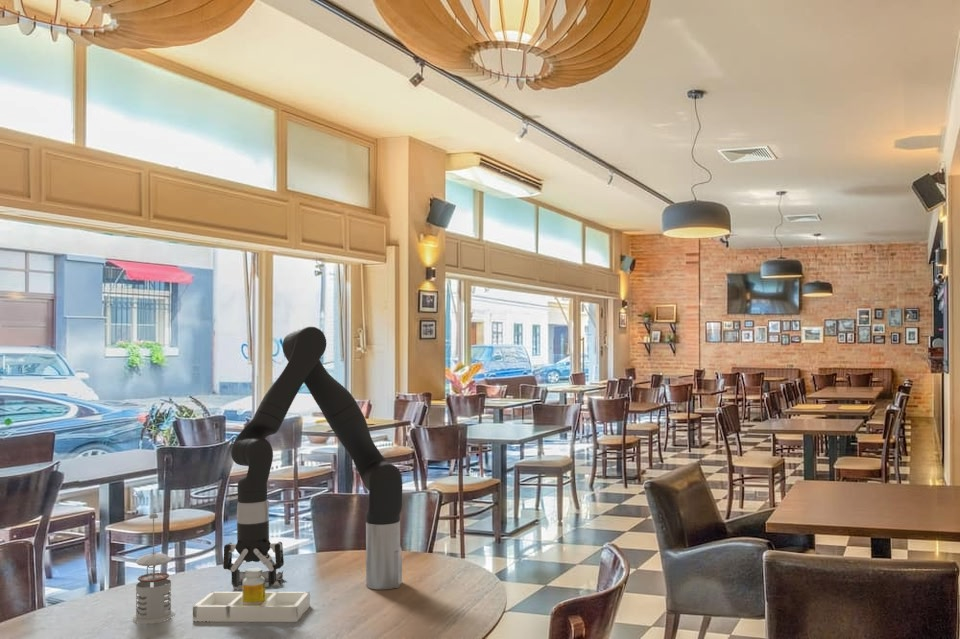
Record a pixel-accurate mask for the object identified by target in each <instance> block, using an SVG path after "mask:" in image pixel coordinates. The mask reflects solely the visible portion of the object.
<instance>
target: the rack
mask: <svg viewBox="0 0 960 639" xmlns="http://www.w3.org/2000/svg"><path fill="white" fill-rule="evenodd" d="M310 593H311V592H310V591H265V601H264V602H263V603H262V604H261V605H260V606H247V605H242V591H211V592H209V593H208V594H207V595H206V596H204V597H203V598H202V599H201V600H199V601H198V602H197V603H195V605H193V606H192V622H194V621H195V622H197V621H199V622H202V621H203V622H204V623H205V621H207V622H208V623H210V622H211V623H212V622H213V623H214V622H215V623H216V622H217V623H219V622H220V623H224V622H225V623H226V622H227V623H232V622H234V623H235V622H236V623H241V622H242V623H243V622H244V623H248V622H249V623H251V622H252V623H297V622H298V621H299V620H300V619H301V617H302V616H303V615H304V614H305V613H306V611H307V610H308V609H309V608H310V607H311V598H310V597H311V594H310ZM209 621H210V622H209Z"/></svg>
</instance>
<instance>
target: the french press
mask: <svg viewBox="0 0 960 639" xmlns="http://www.w3.org/2000/svg"><path fill="white" fill-rule="evenodd" d="M158 516H159V515H158V514H157V513H155V512H153V513H150V514H149V519H152V552H151V553H146V554H144V555H142V556H140V557H139V558H138V559H136V560H135V564H137V565H138V566H142V567H146V573H145V574H141V575H140V576H138V577H137V580H138V581H139V582H137V583H136V585H135V591H136V593H135V597H136V598H135V615H134V616H133V617H132V618H133V619H131V621H132V620H133V621H134V622H133V621H132V622H133V623H135V622H138V623H137V624H139V623H146V624H145V625H147V624H148V623H150V624H156V622H158V623H161V622H160V621H162V622H165V621H164V620H166V621H168V620H167V619H169V620H171V619H172V618H171V617H173V616H174V615H176V613H175V612H174V611H173V610H172V593H171V592H172V588H171V587H172V581H171V580H170V579H168V578H169V577H170V574H169V573H167V572H156V567H157V566H160V565H161V566H162V565H165V564H168V563H170V562H171V560H172V557H171V556H169V555H168V554H165V553H161V552H155V519H157V518H158ZM148 569H152V572H149V570H148ZM151 583H153V586H151ZM174 617H175V616H174ZM174 617H173V618H174ZM170 618H171V619H170Z"/></svg>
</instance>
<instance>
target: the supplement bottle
mask: <svg viewBox="0 0 960 639" xmlns="http://www.w3.org/2000/svg"><path fill="white" fill-rule="evenodd" d="M244 572H245V576H246V578H245V579H244V580H242V581H243V583H242V589H241V590H242V591H241V592H242V605H247V606H260V605H261V604H262V603H263V602H264V601H265V592H266V587H265V580H266V579H264V578H263V577H262V576H261V575H262V572H263V568H261V567H249V568H247V569H245V571H244Z"/></svg>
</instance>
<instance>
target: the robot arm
mask: <svg viewBox="0 0 960 639" xmlns="http://www.w3.org/2000/svg"><path fill="white" fill-rule="evenodd" d="M326 348H327V338H326V336H325V333H324V332H323V331H322V329H319V328H318V327H316V326H305V327H301V328H298V329H297V330H293V331H292V332H290V333H288V334H286V336H284V338H283V340H282V352H283V354H284V357H285V359H286V361H287V363H286V366H285V367H284V368H283V370H282V372H281V373H280V375H279V376H278V378H277V379H276V380H275V381H274V383H273V384H271V386H270V388H269V389H268V390H267V392H266V394H265V395H264V397H263V398H262V400H261V401H260V403H259V405H258V407H257V409H256V411H255V413H254V416H253V418H252V419H251V420H250V421H249V422H248V423H247V425H245V426H244V428H243V429H242V430H241V431H240V432H239V434H238V435H237V437H236V438H235V439H234V442H233V444H232V446H231V449H230V450H231V451H230V454H231V455H230V456H231V459H232V461H233V462H234V463H235V464H236V465H239V466H244V467H248V469H247V473H246V476H242V477H240V479H239V480H238V481H237V507H236V536H237V537H236V539H237V542H236V543H232V542H231V541H230V542H228V543H226V544H225V545H224V546H223V565H222V567H223V569H224V570H228V571H230V572H231V585H232V586H233V585H234V587H238V586H239V585H240V582H241V581H240V572H241V571H240V570H241V569H239V568H240V567H241V565H242V563H243V562H244V561H245V563H250V562H255V563H259V562H261V563H262V564H263V565H264V566H265V567H266V569H268V571H269V572H268V579H267V580H268V583H269V587H268V588H272V587H274V586H273V585H274V583H275V582H276V574H277V570H278V569H281V568H282V567H283V566H284V565H285V561H284V559H285V558H284V548H283V542H282V541H278V542H274V543H271V542H270V541H271V540H270V520H269V518H270V516H269V514H270V510H269V503H268V480H269V477H270V473H271V469H272V464H273V459H274V451H273V448H272V447H273V446H272V444H271V442H270V441H269V440H268V439H266V438H268V437H269V436H272V435H275V434H276V433H278V431H279V430H280V428H281V426H282V424H283V422H284V420H285V418H286V416H287V415H288V412H289V410H290V408H291V405H292V404H293V402H294V400H295V398H296V396H297V394H298V393H299V390H300V389H301V387H302V386H303V384H305V386H306V388H307V390H308V391H309V393H310V395H311V396H312V398H313V400H314V401H315V403H316V404H317V406H318V408H319V409H320V411H321V413H322V415H323V418H325V420H326V422H327V424H328V425H329V427H330V428H331V431H333V433H334V435H335V436H336V438H337V439H338V440H339V442H340V444H341V445H342V446H343V448H344V449H345V450H346V452H347V453H348V454H349V456H350V458H351V460H352V462H353V463H354V466H355V467H356V471H357V472H358V474H359V476H360V478H361V481H362V483H363V485H364V487H365V489H366V490H368V509H367V510H366V512H365V554H366V555H365V557H366V558H365V560H366V561H365V563H366V564H365V565H366V566H365V569H366V571H365V572H366V574H365V575H366V576H365V580H366V584H365V585H366V587H367V588H369V589H371V590H390V589H399V588H400V586H401V584H402V582H403V567H402V566H403V564H402V563H403V561H402V560H403V559H402V556H403V552H402V546H401V512H402V509H403V476H402V473H401V471H400V469H399V468H398V467H397V466H396V465H394V464H392V463H390V462H388V461H387V460H386V459H385V457H384V456H383V455H382V454H381V452H380V450H379V449H378V448H377V446H376V444H375V443H374V440H373V438H372V436H371V433H370V430H369V427H368V423H367V420H366V418H365V415H364V414H363V412H362V410H361V408H360V406H359V405H358V402H357V401H356V400H355V398H354V397H353V395H352V394H351V392H349V390H348V389H347V388H346V387H345V386H343V385H342V384H341V383H340V382H338V380H336V379H335V378H334V377H333V376H332V375H331V374H330V373H329V372H328V371H327V369H326V368H325V367H324V365H323V363H322V361H321V358H322V357H323V355H324V354H325V351H326ZM235 550H236V551H237V552H236V553H238V554H239V556H238V557H237V559H236V560H235V561H234V563H233V561H232V559H233V553H234V552H235ZM270 550H272V553H274V556H275V561H274V560H273V557H272V555H270V554H269V551H270Z"/></svg>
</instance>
